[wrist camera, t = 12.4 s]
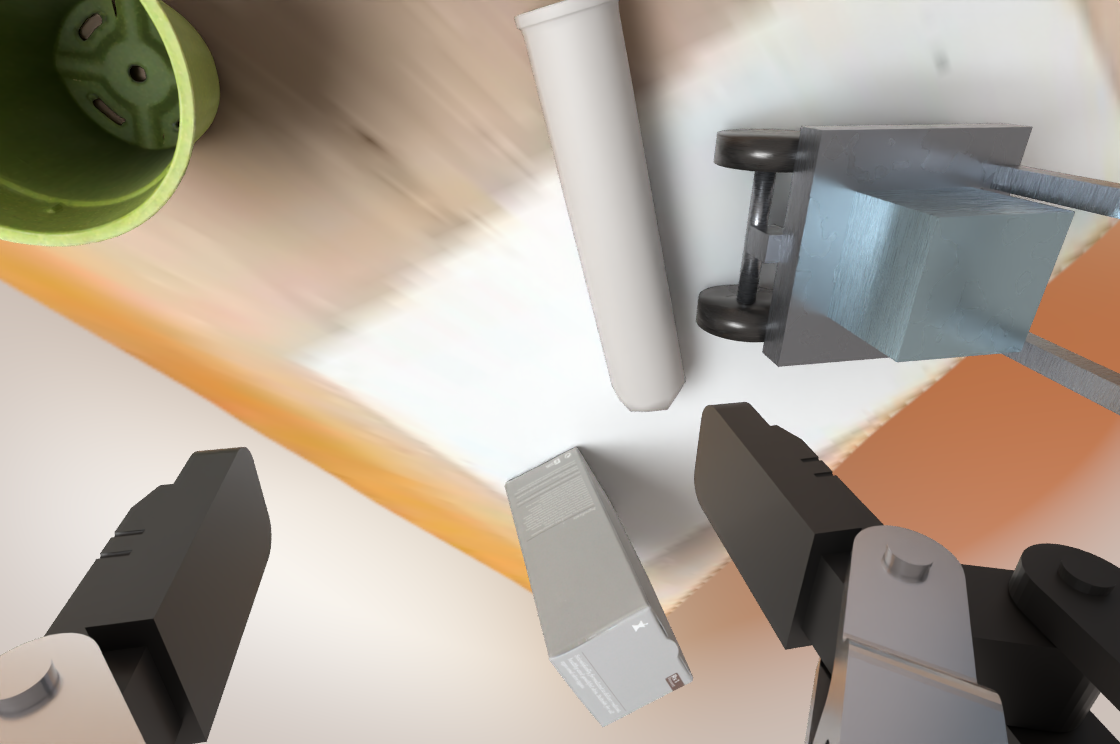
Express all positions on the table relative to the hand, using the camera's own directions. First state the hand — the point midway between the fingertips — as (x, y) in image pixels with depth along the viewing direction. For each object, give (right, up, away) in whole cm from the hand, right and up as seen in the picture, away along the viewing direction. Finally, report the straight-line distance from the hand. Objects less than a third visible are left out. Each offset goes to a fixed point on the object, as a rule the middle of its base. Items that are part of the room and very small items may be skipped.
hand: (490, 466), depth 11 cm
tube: (+4, +11, +28) cm, 30 cm away
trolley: (+19, +12, +30) cm, 37 cm away
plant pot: (-20, +17, +20) cm, 33 cm away
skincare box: (+2, -8, +37) cm, 38 cm away
